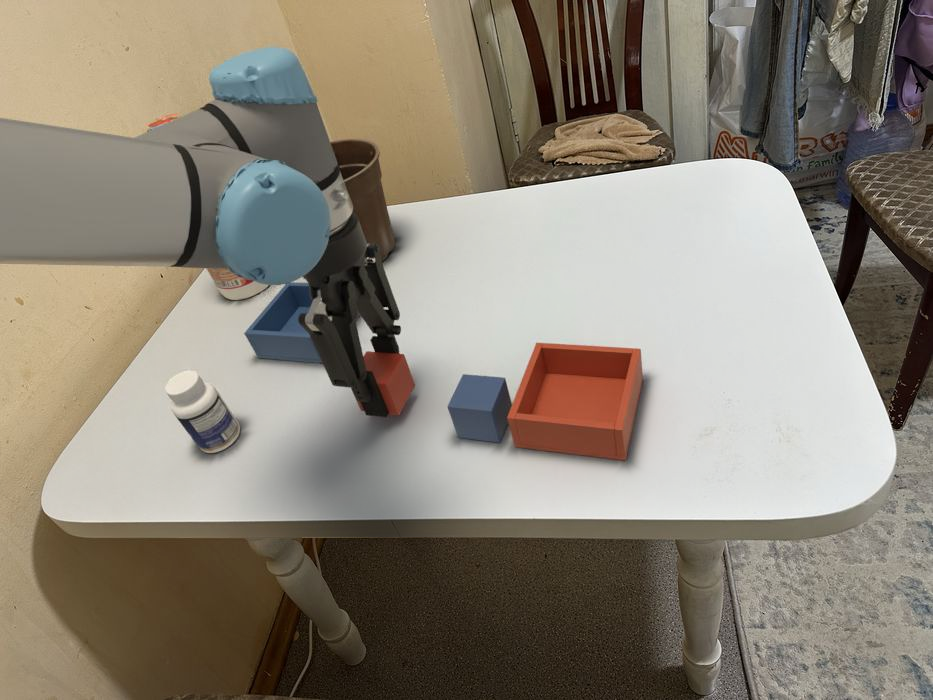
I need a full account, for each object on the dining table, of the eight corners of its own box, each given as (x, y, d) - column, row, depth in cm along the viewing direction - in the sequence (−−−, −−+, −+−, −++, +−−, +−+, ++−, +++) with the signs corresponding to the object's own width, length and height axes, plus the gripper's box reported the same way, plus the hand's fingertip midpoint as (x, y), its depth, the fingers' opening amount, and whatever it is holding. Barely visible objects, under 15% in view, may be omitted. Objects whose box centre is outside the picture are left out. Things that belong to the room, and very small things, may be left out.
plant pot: (424, 251, 104) (395, 156, 94) (332, 296, 100) (291, 202, 90) (385, 216, 116) (355, 129, 106) (301, 255, 112) (262, 168, 102)
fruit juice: (225, 309, 105) (129, 143, 87) (218, 282, 112) (128, 123, 94) (281, 285, 106) (198, 117, 88) (271, 260, 113) (192, 100, 96)
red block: (361, 411, 77) (347, 380, 74) (379, 381, 80) (366, 350, 77) (398, 415, 75) (386, 384, 72) (415, 385, 78) (404, 353, 75)
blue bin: (257, 358, 93) (243, 333, 90) (299, 306, 100) (287, 282, 97) (327, 363, 88) (314, 337, 85) (364, 309, 96) (354, 283, 93)
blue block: (457, 437, 73) (447, 406, 69) (472, 405, 76) (462, 373, 73) (500, 443, 71) (491, 411, 68) (513, 409, 74) (505, 377, 71)
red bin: (514, 447, 70) (506, 417, 67) (542, 371, 78) (536, 342, 75) (625, 460, 65) (622, 430, 62) (643, 379, 73) (640, 348, 70)
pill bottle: (196, 435, 83) (155, 380, 77) (236, 414, 84) (200, 358, 78) (203, 461, 79) (161, 405, 73) (245, 440, 80) (207, 383, 74)
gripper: (303, 280, 55) (383, 459, 70) (391, 176, 67) (444, 348, 82) (233, 278, 58) (324, 451, 73) (329, 179, 70) (391, 344, 85)
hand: (387, 396), depth 77 cm, fingers closed on red block, 5 cm apart
